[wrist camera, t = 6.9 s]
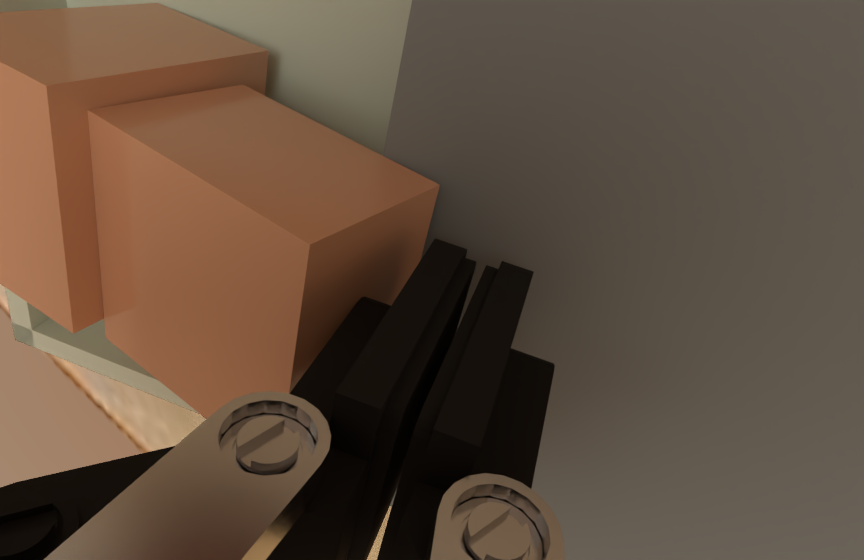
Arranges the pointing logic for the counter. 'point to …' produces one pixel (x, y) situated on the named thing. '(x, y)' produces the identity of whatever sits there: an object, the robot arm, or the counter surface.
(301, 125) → the tile
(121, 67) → the tile
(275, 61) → the sage bin
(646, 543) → the slate board
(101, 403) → the counter surface
